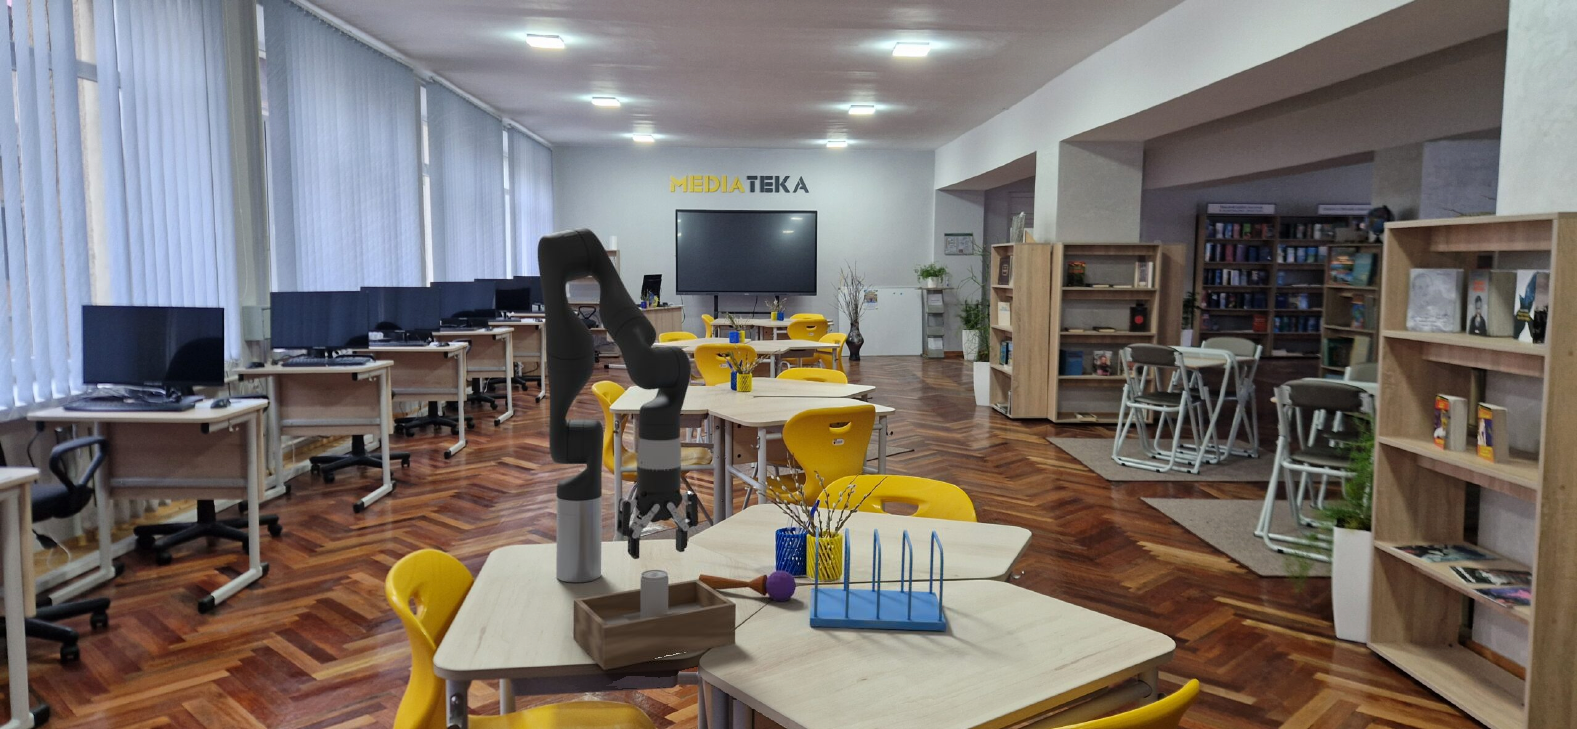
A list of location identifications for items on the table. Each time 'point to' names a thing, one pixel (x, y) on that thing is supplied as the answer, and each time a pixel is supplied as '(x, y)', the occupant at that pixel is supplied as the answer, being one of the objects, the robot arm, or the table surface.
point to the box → (652, 624)
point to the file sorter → (878, 597)
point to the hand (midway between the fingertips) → (657, 554)
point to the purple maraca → (757, 584)
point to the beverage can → (654, 593)
